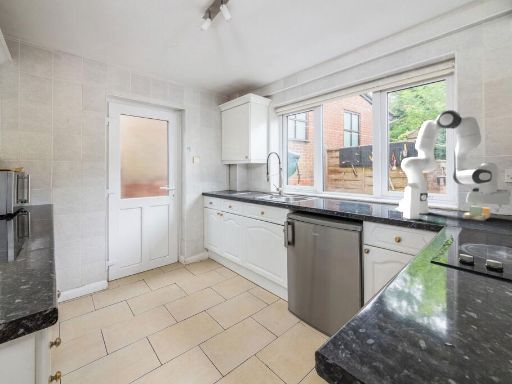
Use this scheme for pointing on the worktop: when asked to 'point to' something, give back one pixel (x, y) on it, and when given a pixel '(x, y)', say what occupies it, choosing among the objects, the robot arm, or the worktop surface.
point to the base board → (475, 216)
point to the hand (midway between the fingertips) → (486, 211)
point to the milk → (411, 201)
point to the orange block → (486, 211)
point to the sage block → (475, 210)
